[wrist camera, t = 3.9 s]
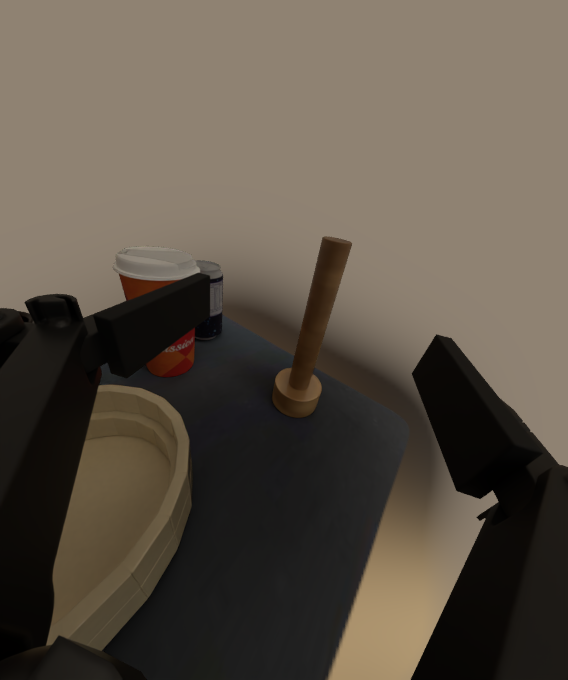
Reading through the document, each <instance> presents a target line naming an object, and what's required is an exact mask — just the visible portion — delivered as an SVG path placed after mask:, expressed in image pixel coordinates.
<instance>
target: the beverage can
mask: <svg viewBox="0 0 568 680" xmlns="http://www.w3.org/2000/svg"><path fill="white" fill-rule="evenodd" d="M196 266H197V267H199V268H200V273H202V274H206V275H210V317H209V318H207V319H206V320H205V321H203V322H202V323H200V324H199V325H198V326H196V327H195V338H197V339H200V340H210V339H213V338H215V337H216V336H217V335H219V334H220V333H221V331H222V299H223V298H222V297H223V274H222V272H221V270H220V266H219V265H218V264H216V263H213V262H209V261H199V260H197V261H196Z"/></svg>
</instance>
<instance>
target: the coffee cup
mask: <svg viewBox="0 0 568 680" xmlns="http://www.w3.org/2000/svg"><path fill="white" fill-rule="evenodd" d="M113 269H114V270H115V271H116V272H117V273H119V276H120V279H121V283H122V286H123V290H124V294H125V297H126V301H128V300H130V299H134V298H136V297H139V296H141V295H144V294H146V293H149V292H151V291H154V290H156V289H159V288H161V287H164V286H166V285H169V284H171V283H174V282H176V281H179V280H181V279H184V278H186V277H189V276H191V275H194V274H196V273H200V268H199V267H197V266H196V261H195V260H193V259H192V256H191V255H190V254H188V253H186V252H184V251H181V250H177V249H172V248H165V247H154V246H138V247H129V248H124V250H122V251H120V252H119V253H118V254H116V262H115V263H114V265H113ZM194 345H195V328H194V329H192V330H191V331H190V332H188V333H187V334H186V335H184V336H183V337H182V338H180V339H179V340H178V341H176V342H175V343H174V344H172V345H171V346H170V347H168V348H167V349H166V350H164V351H163V352H162V353H160V354H159V355H158V356H156V357H155V358H154V359H152V360H151V361H150V362H148V363H147V364H146V365H147V368H148V370H149V371H150V372H151V373H152V374H154V375H156V376H160V377H173V376H178V375H181V374H183V373H185V372H187V371H188V370H189V369H190V368H191V367H192V365H193V362H194Z"/></svg>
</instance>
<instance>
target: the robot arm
mask: <svg viewBox="0 0 568 680" xmlns="http://www.w3.org/2000/svg"><path fill="white" fill-rule="evenodd" d="M25 304H26V307H27V309H28V311H29V313H30V315H31V317H32V319H33V321H34V323H28V322H23V320H22V318H21V316H20V314H19V312H18V311H16V310H14V309H7V308H0V680H147V679H146V678H145V677H144V675H143V674H142V672H141V671H139V670H137V669H135V668H133V667H131V666H129V665H127V664H125V663H123V662H122V661H120V660H118V659H116V658H114V657H112V656H110V655H108V654H106V653H104V652H103V651H100V650H98V649H95V648H92V647H89V646H87V645H84V644H81V643H79V642H76V641H73V640H71V639H68V638H65V637H62V636H60V635H58V637H57V638H56V640H55V641H54V643H53V644H52V645H47V646H46V644H47V640H48V635H49V631H50V626H51V622H52V616H53V610H54V597H55V593H54V586H53V568H54V563H55V559H56V555H57V551H58V547H59V543H60V539H61V535H62V531H63V527H64V523H65V519H66V515H67V511H68V507H69V503H70V499H71V495H72V491H73V487H74V483H75V479H76V475H77V471H78V467H79V463H80V459H81V455H82V451H83V447H84V443H85V439H86V435H87V431H88V427H89V423H90V419H91V415H92V411H93V407H94V403H95V399H96V395H97V391H98V387H99V383H100V379H101V375H102V373H101V369H100V366H102V365H103V364H105V363H107V362H108V365H109V368H110V371H111V373H112V374H115V375H118V376H121V377H124V378H128V377H129V376H131V375H132V374H133V373H135V372H136V371H137V370H139V369H140V368H141V367H143V366H144V365H146V364H147V363H148V362H150V361H151V360H152V359H154V358H155V357H156V356H158V355H159V354H160V353H162V352H163V351H164V350H166V349H167V348H168V347H170V346H171V345H172V344H174V343H175V342H176V341H178V340H179V339H180V338H182V337H183V336H184V335H186V334H187V333H188V332H190V331H191V330H192V329H194V328H195V327H196V326H198V325H199V324H200V323H202V322H203V321H205V320H206V319H207V318H209V317H210V275H206V274H202V273H196V274H194V275H191V276H189V277H186V278H184V279H181V280H179V281H176V282H174V283H171V284H169V285H166V286H164V287H161V288H159V289H156V290H154V291H151V292H149V293H146V294H144V295H141V296H139V297H136V298H134V299H130V300H128V301H125V302H123V303H120V304H118V305H115V306H113V307H111V308H108V309H105V310H103V311H100V312H97V313H95V314H93V315H90V316H87V317H85V318H83V316H82V314H81V311H80V308H79V305H78V302H77V299H76V298H75V297H73V296H70V295H65V294H50V295H43V296H37V297H34V298H31V299H29V300H27V301H26V302H25ZM412 375H413V378H414V381H415V383H416V386H417V389H418V391H419V394H420V396H421V399H422V402H423V404H424V407H425V409H426V412H427V415H428V417H429V420H430V422H431V425H432V428H433V431H434V433H435V436H436V438H437V441H438V443H439V446H440V449H441V451H442V454H443V457H444V459H445V462H446V464H447V467H448V470H449V472H450V475H451V478H452V480H453V483H454V485H455V488H456V490H457V491H458V492H461V493H464V494H467V495H470V496H473V497H476V498H479V499H481V498H482V497H484V496H485V495H487V494H488V493H489V492H491V491H492V490H493V491H494V493H495V495H496V497H497V499H498V501H499V502H498V503H497V504H495V505H494V506H492V507H491V508H489V509H488V510H486V511H485V512H483V513H481V514H480V515H479V516H478V517H477V518H478V519H479V520H482V519H484V518H486V520H485V522H484V524H483V526H482V528H481V530H480V532H479V535H478V537H477V539H476V541H475V543H474V545H473V547H472V550H471V552H470V554H469V556H468V558H467V560H466V562H465V565H464V567H463V569H462V571H461V573H460V575H459V578H458V580H457V582H456V584H455V586H454V588H453V590H452V592H451V595H450V597H449V599H448V601H447V603H446V605H445V607H444V610H443V612H442V614H441V616H440V618H439V620H438V622H437V624H436V627H435V629H434V631H433V633H432V635H431V637H430V639H429V642H428V644H427V646H426V648H425V650H424V652H423V655H422V657H421V659H420V661H419V663H418V665H417V667H416V670H415V672H414V674H413V676H412V678H411V680H568V467H566V466H563V465H559V464H558V463H557V462H556V460H555V459H554V458H553V457H552V456H551V454H550V453H549V452H548V451H547V450H546V448H545V447H544V446H543V445H542V443H541V442H540V441H539V440H538V439H537V437H536V436H535V435H534V434H533V433H532V432H530V429H529V428H528V427H527V425H526V424H525V423H523V422H522V419H521V418H520V417H519V416H518V415H517V413H516V412H515V411H514V410H513V409H512V408H511V407H510V406H508V405H507V404H506V403H505V402H503V401H502V400H501V399H500V398H499V397H498V396H497V394H496V393H495V392H494V391H493V389H492V388H491V387H490V386H489V384H488V383H487V382H486V381H485V379H484V378H483V377H482V376H481V374H480V373H479V372H478V371H477V370H476V368H475V367H474V366H473V365H472V363H471V362H470V361H469V360H468V358H467V357H466V356H465V355H464V353H463V352H462V351H461V350H460V348H459V347H458V346H457V345H456V343H455V342H454V341H453V340H452V338H448V337H444V336H440V335H436V336H435V337H434V339H433V341H432V342H431V344H430V345H429V347H428V349H427V350H426V352H425V354H424V355H423V357H422V358H421V360H420V361H419V363H418V365H417V366H416V368H415V369H414V371H413V373H412Z"/></svg>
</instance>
